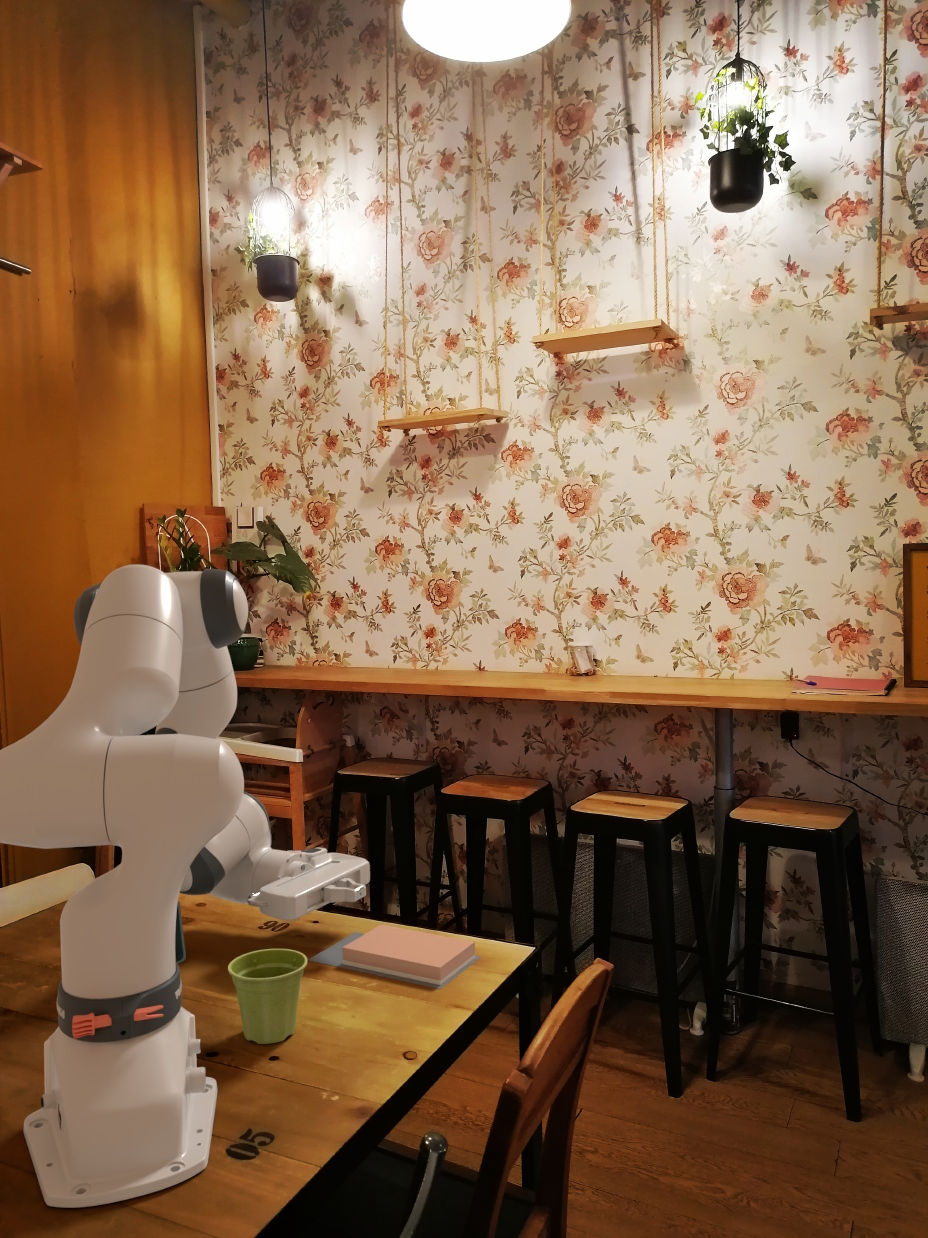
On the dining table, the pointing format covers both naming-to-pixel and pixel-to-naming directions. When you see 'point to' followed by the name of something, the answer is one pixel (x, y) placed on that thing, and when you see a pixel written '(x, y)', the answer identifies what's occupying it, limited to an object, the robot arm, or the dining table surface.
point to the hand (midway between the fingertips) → (360, 894)
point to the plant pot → (268, 992)
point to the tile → (409, 954)
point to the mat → (335, 958)
